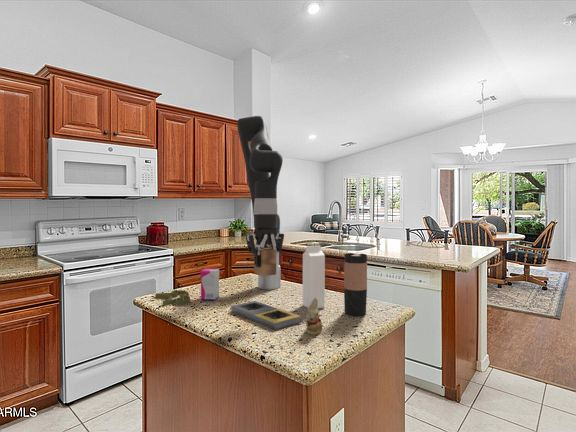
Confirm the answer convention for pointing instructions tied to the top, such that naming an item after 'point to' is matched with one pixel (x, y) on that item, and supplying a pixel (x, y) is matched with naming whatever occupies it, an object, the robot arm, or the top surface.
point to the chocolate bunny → (313, 319)
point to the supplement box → (210, 284)
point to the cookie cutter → (181, 300)
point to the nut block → (267, 263)
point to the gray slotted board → (266, 314)
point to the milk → (313, 276)
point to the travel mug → (355, 284)
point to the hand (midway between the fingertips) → (265, 265)
